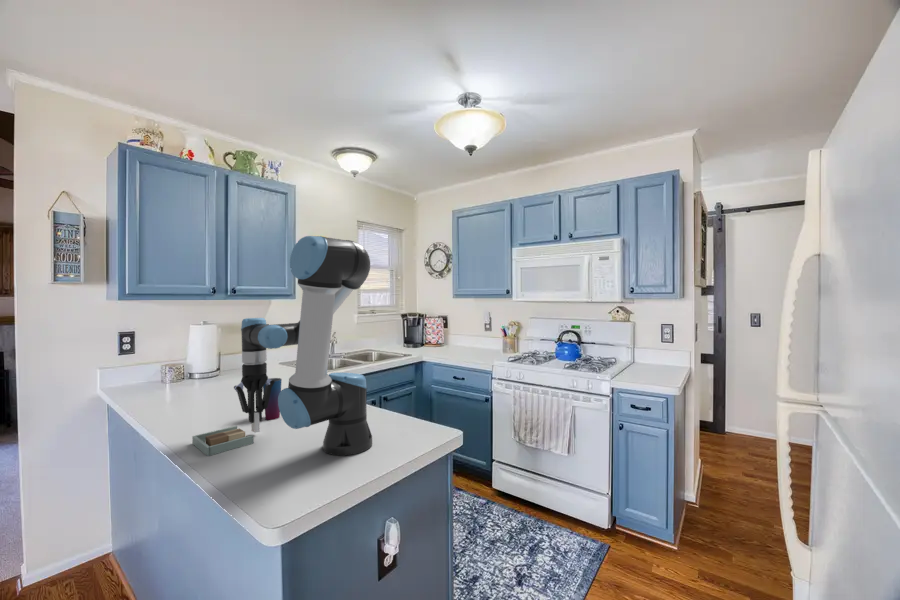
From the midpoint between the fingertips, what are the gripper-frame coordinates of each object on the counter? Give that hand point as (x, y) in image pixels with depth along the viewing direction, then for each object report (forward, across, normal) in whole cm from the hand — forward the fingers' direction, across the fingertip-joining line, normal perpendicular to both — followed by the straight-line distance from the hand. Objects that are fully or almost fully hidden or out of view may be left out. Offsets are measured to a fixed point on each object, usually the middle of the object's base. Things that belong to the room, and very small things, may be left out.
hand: (255, 431), depth 131 cm
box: (+1, +10, -1) cm, 10 cm away
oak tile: (+2, +6, -1) cm, 7 cm away
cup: (+2, -13, -14) cm, 19 cm away
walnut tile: (+2, +12, -1) cm, 12 cm away
